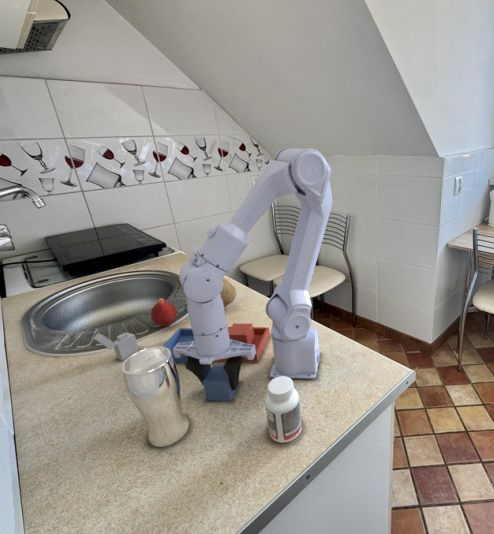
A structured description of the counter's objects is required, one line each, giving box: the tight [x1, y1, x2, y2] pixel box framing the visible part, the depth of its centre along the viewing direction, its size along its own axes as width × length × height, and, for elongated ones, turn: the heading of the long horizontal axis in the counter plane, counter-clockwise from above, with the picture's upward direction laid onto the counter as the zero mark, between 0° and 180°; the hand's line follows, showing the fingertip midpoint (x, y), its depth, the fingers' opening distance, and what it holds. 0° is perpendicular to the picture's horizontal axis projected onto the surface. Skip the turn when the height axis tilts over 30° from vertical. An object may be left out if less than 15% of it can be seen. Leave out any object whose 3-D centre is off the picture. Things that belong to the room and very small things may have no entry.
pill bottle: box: [264, 376, 302, 444], centre depth 52 cm, size 5×5×10 cm
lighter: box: [92, 332, 140, 361], centre depth 71 cm, size 7×2×8 cm, turn 154°
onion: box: [150, 298, 178, 327], centre depth 83 cm, size 6×6×8 cm
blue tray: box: [162, 327, 195, 364], centre depth 75 cm, size 10×10×2 cm
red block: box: [228, 322, 255, 344], centre depth 74 cm, size 5×5×5 cm
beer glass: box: [121, 345, 190, 448], centre depth 51 cm, size 7×7×15 cm
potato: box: [220, 277, 237, 309], centre depth 90 cm, size 9×9×10 cm
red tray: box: [213, 326, 271, 363], centre depth 75 cm, size 10×10×2 cm
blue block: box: [202, 364, 240, 402], centre depth 61 cm, size 5×5×5 cm
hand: (222, 386), depth 62 cm, fingers closed on blue block, 4 cm apart
